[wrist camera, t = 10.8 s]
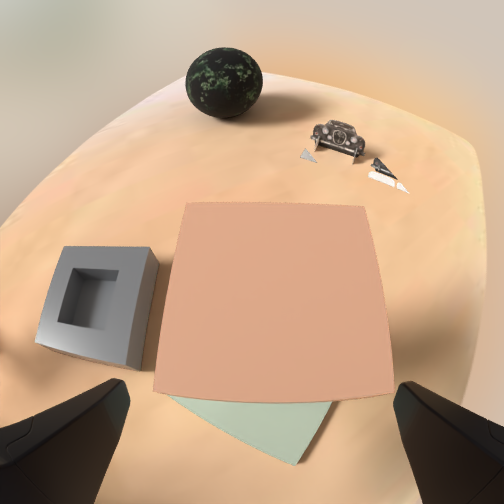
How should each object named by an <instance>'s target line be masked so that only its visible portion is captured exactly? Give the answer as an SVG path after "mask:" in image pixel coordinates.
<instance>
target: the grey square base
mask: <svg viewBox="0 0 504 504" xmlns="http://www.w3.org/2000/svg"><path fill="white" fill-rule="evenodd" d="M158 267H159V262H158V260H157V259H156V257H155V255H154V254H153V252H152V250H151V248H150V247H105V246H64V248H63V250H62V253H61V255H60V258H59V261H58V263H57V266H56V269H55V272H54V275H53V278H52V281H51V284H50V287H49V290H48V293H47V297H46V300H45V303H44V307H43V310H42V314H41V318H40V322H39V326H38V330H37V334H36V339H35V342H36V343H38V344H40V345H42V346H44V347H46V348H48V349H50V350H52V351H55V352H58V353H62V354H65V355H69V356H72V357H76V358H80V359H84V360H88V361H92V362H96V363H101V364H105V365H110V366H114V367H119V368H124V369H130V370H135V371H141V363H142V356H143V349H144V342H145V336H146V330H147V324H148V318H149V312H150V307H151V301H152V296H153V291H154V286H155V281H156V277H157V272H158Z"/></svg>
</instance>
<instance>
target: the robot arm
mask: <svg viewBox="0 0 504 504" xmlns="http://www.w3.org/2000/svg"><path fill="white" fill-rule="evenodd" d="M129 406H130V396H129V393H128V390H127V387H126V384H125V382H124V381H123V380H120V379H115V378H112V379H110V380H108V381H106V382H104V383H102V384H100V385H98V386H96V387H94V388H92V389H90V390H88V391H86V392H84V393H82V394H80V395H77V396H75V397H73V398H71V399H69V400H67V401H65V402H63V403H60V404H58V405H56V406H54V407H52V408H50V409H47V410H45V411H43V412H41V413H38V414H36V415H34V416H32V417H29V418H27V419H25V420H22V421H20V422H17V423H15V424H12V425H9V426H6V427H2V428H0V504H94V502H95V499H96V496H97V494H98V491H99V489H100V486H101V484H102V481H103V478H104V476H105V473H106V471H107V469H108V466H109V464H110V461H111V459H112V456H113V454H114V452H115V449H116V447H117V445H118V442H119V439H120V436H121V433H122V430H123V426H124V423H125V420H126V416H127V413H128V410H129ZM393 407H394V411H395V415H396V419H397V423H398V427H399V431H400V435H401V439H402V442H403V445H404V448H405V451H406V454H407V457H408V460H409V462H410V465H411V468H412V471H413V474H414V477H415V480H416V483H417V487H418V490H419V493H420V496H421V499H422V503H423V504H504V427H503V426H501V425H498V424H496V423H494V422H492V421H490V420H487V419H486V418H484V417H481V416H479V415H477V414H475V413H473V412H471V411H469V410H467V409H465V408H463V407H461V406H459V405H457V404H455V403H453V402H451V401H449V400H447V399H446V398H444V397H442V396H440V395H438V394H436V393H434V392H432V391H430V390H428V389H426V388H424V387H423V386H421V385H419V384H417V383H415V382H413V381H407V382H402V383H401V384H400V385H399V387H398V390H397V393H396V396H395V398H394V402H393Z"/></svg>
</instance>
